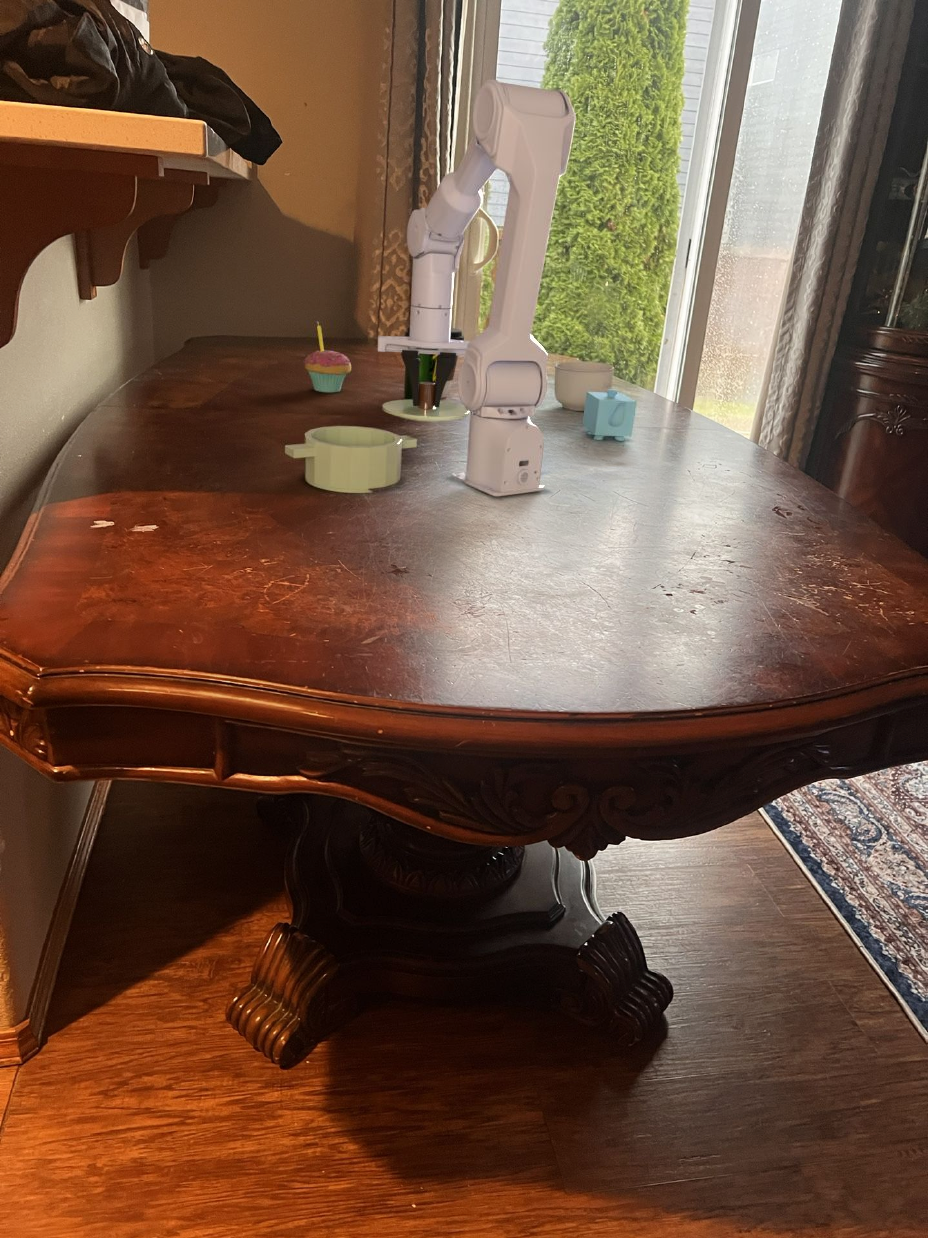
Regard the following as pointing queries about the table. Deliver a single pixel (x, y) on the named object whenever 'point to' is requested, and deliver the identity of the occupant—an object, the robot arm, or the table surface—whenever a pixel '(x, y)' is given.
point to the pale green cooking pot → (351, 457)
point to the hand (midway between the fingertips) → (426, 405)
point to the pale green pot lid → (425, 407)
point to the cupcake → (327, 368)
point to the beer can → (422, 372)
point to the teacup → (580, 382)
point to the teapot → (609, 414)
